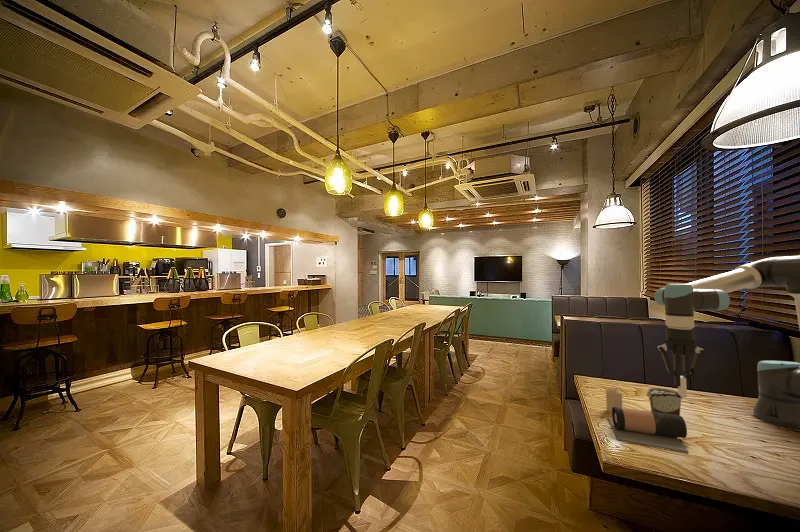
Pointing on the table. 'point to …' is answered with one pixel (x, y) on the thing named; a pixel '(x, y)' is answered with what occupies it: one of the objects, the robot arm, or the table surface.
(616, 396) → the candle
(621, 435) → the mat
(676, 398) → the food container
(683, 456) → the table surface
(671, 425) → the travel mug
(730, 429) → the table surface
